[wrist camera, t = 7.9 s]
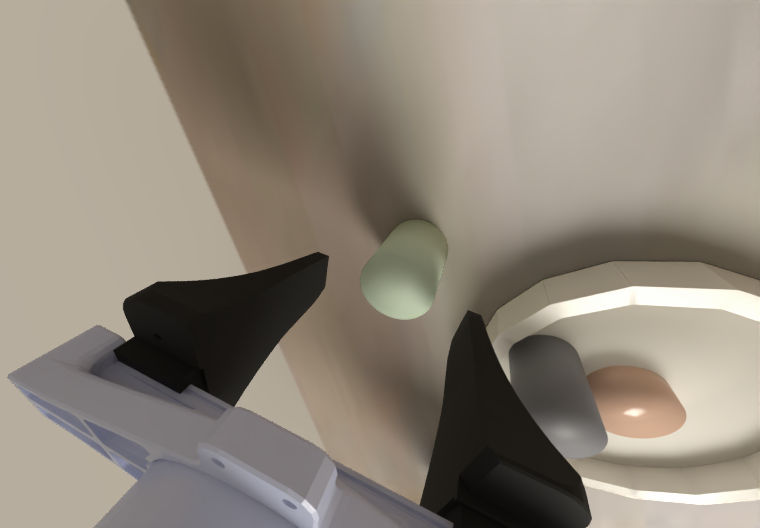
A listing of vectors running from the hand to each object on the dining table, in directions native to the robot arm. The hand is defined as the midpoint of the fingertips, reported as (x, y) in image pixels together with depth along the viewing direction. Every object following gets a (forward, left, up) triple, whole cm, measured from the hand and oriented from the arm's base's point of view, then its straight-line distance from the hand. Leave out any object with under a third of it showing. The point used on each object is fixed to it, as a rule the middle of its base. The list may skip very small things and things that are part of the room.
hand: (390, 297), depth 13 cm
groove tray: (-4, -15, -6) cm, 17 cm away
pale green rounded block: (0, 0, -6) cm, 6 cm away
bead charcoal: (-4, -10, -5) cm, 12 cm away
